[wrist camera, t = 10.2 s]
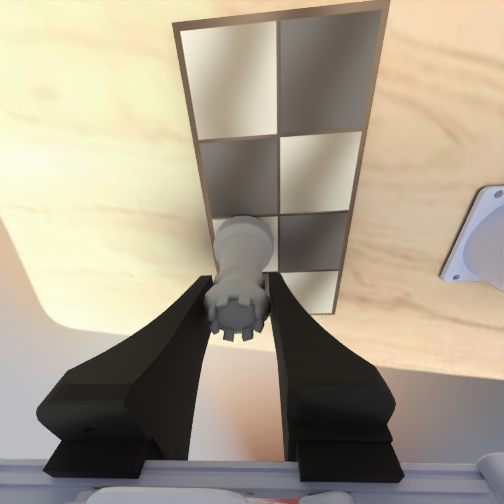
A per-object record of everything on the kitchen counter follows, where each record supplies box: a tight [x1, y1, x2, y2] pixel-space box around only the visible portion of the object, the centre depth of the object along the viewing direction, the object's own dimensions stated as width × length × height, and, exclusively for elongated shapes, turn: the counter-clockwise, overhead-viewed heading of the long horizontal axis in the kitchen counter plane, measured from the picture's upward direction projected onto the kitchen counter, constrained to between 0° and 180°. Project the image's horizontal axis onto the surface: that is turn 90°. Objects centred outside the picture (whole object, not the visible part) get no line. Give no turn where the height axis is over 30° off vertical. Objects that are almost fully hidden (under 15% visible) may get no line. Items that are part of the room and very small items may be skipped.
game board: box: [172, 0, 390, 316], centre depth 15 cm, size 11×21×1 cm, turn 4°
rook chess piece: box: [203, 216, 273, 342], centre depth 12 cm, size 4×4×8 cm
